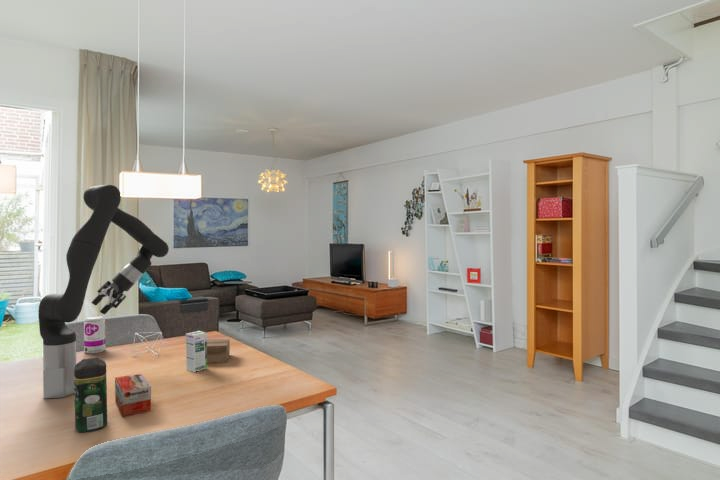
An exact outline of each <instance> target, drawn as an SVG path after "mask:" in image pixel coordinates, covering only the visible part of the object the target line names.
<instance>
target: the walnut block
mask: <svg viewBox="0 0 720 480" xmlns="http://www.w3.org/2000/svg"><path fill="white" fill-rule="evenodd" d="M230 344H231V343H230V338H225V339H224V338H223V339H222V338H221V339H218V338H217V339H207V364H213V363H212V362H224V363H228V360H229V358H230V355H229V354H231V353H230V350H231V349H230V347H231V345H230ZM228 357H229V358H228ZM227 359H228V360H227Z"/></svg>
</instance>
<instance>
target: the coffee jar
mask: <svg viewBox="0 0 720 480" xmlns="http://www.w3.org/2000/svg"><path fill="white" fill-rule="evenodd" d="M107 379H108V378H107V363H106V361H105V360H104V359H101V358H99V357H90V358H83V359H81V360H80V361H79V362H76V365H75V368H74V393H73V397H74V398H73V399H74V401H73V402H74V427H75V430H76V431H77V432H79V433H80V432H85V433H86V432H88V433H89V432H95V431H97V430H99V429H102V428H105V426H107V424H108V404H107V403H108V390H107V387H108V385H107Z"/></svg>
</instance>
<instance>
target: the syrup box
mask: <svg viewBox="0 0 720 480" xmlns="http://www.w3.org/2000/svg"><path fill="white" fill-rule="evenodd" d="M207 333H208V332H206V331H203V330H197V331H192V332H187V333H185V351H186V352H185V355H186V356H185V357H186V361H185V362H186V363H185V364H186V370H187V371H189V370H190V371H189V372H192V371H193V372H192V373H196V371H197V372H201V371H203V369H204V370H207V369H208V363H207V340H208V334H207Z"/></svg>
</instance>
